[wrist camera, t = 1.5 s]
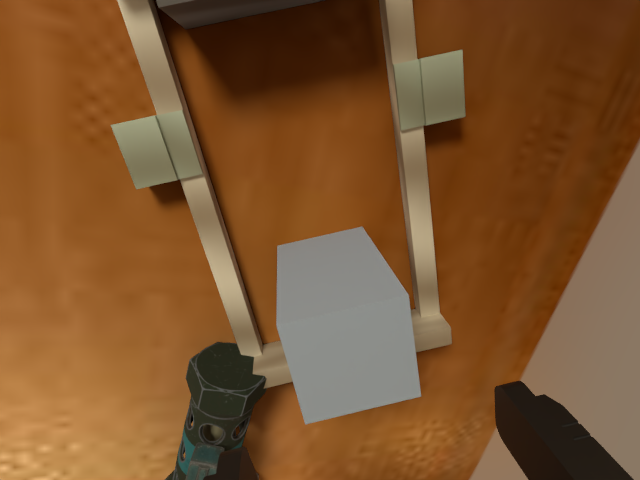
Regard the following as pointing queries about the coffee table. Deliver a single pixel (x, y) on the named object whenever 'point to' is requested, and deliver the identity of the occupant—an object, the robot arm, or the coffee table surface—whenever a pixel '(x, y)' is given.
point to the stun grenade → (216, 408)
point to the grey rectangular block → (344, 326)
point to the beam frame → (189, 166)
